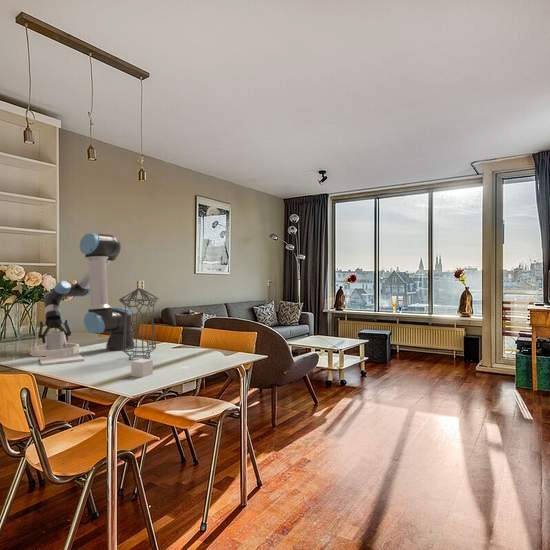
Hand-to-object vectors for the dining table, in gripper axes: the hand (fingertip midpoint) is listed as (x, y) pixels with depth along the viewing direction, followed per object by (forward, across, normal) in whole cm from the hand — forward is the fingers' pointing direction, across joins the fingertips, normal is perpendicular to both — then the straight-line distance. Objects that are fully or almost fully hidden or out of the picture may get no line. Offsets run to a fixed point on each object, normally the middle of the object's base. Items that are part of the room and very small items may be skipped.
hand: (56, 346), depth 218 cm
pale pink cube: (+58, -24, +52) cm, 81 cm away
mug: (0, 0, -5) cm, 5 cm away
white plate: (0, 0, -5) cm, 5 cm away
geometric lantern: (+32, -33, +27) cm, 53 cm away
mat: (+19, 0, +13) cm, 23 cm away
